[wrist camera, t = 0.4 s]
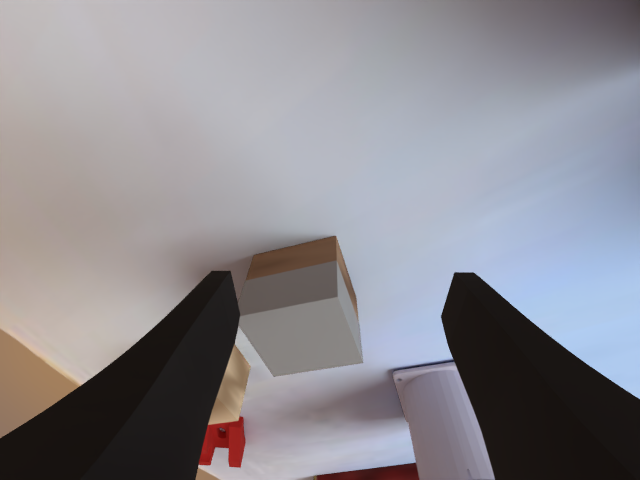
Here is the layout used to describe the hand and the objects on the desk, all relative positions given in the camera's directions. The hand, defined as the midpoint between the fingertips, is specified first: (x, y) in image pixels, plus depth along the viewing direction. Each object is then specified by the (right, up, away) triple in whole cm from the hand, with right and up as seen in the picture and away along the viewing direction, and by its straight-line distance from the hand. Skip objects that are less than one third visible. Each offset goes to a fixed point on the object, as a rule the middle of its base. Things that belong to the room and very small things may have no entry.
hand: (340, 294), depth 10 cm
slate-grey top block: (-2, -2, +10) cm, 11 cm away
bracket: (-12, -20, +27) cm, 36 cm away
